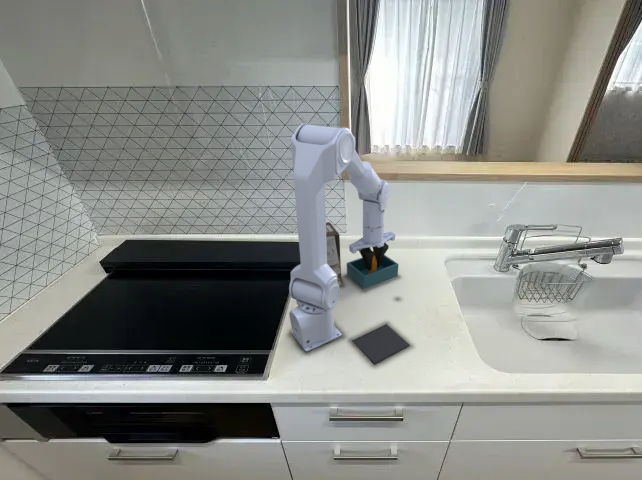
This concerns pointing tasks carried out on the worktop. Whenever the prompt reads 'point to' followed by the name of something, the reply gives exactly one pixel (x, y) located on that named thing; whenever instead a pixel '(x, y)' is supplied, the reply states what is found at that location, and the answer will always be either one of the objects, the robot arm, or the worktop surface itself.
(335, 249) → the coffee box
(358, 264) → the teal open bin
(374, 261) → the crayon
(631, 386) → the worktop surface
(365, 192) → the robot arm
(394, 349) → the mat
